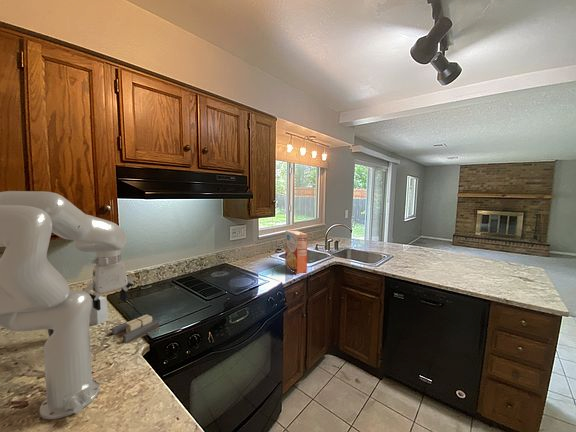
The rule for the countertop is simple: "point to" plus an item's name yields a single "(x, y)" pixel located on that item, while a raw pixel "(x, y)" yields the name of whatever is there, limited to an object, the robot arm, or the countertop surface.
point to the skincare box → (99, 312)
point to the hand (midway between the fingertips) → (111, 304)
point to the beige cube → (145, 320)
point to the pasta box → (296, 251)
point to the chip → (133, 325)
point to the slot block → (134, 331)
